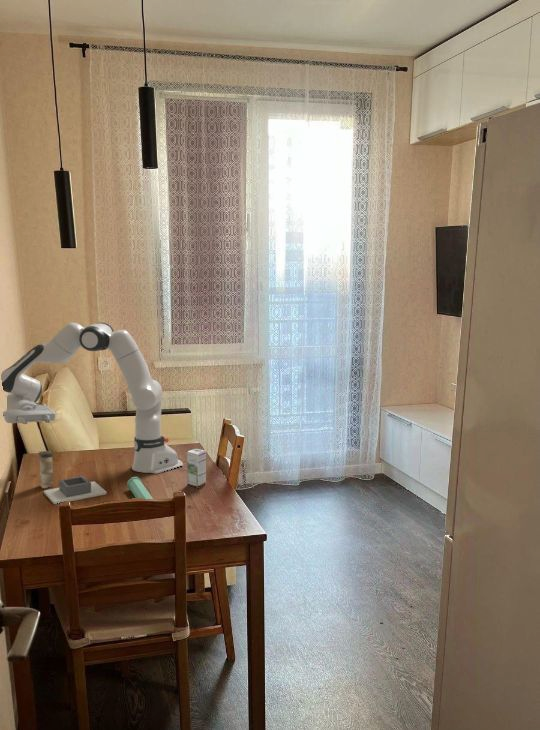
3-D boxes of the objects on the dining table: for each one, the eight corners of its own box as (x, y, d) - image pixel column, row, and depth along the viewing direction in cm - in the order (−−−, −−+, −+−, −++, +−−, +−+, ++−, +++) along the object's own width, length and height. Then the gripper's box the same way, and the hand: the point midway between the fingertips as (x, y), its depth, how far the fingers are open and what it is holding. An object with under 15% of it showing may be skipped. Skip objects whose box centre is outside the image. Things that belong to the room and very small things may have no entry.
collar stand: (94, 483, 246) (93, 471, 245) (106, 494, 235) (106, 481, 234) (43, 492, 235) (43, 480, 234) (54, 504, 223) (53, 491, 223)
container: (154, 496, 218) (138, 473, 241) (139, 504, 216) (124, 480, 239) (160, 509, 220) (143, 486, 242) (145, 517, 218) (130, 493, 240)
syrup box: (206, 484, 249) (206, 450, 247) (197, 488, 244) (197, 453, 242) (195, 481, 252) (196, 447, 250) (186, 485, 247) (186, 451, 245)
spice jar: (50, 483, 245) (49, 450, 243) (53, 486, 242) (52, 453, 239) (40, 485, 243) (39, 452, 240) (43, 488, 239) (41, 454, 237)
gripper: (0, 405, 249) (12, 415, 239) (48, 403, 263) (61, 413, 253) (-2, 419, 250) (10, 430, 240) (47, 417, 264) (60, 427, 254)
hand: (37, 421), depth 247 cm, fingers open, 8 cm apart
